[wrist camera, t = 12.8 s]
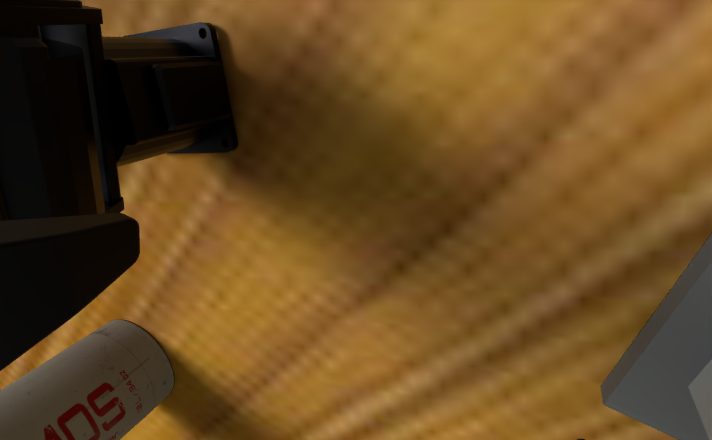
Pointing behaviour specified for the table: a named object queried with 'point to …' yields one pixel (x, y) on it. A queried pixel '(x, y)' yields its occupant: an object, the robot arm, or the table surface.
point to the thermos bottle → (89, 388)
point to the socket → (671, 360)
